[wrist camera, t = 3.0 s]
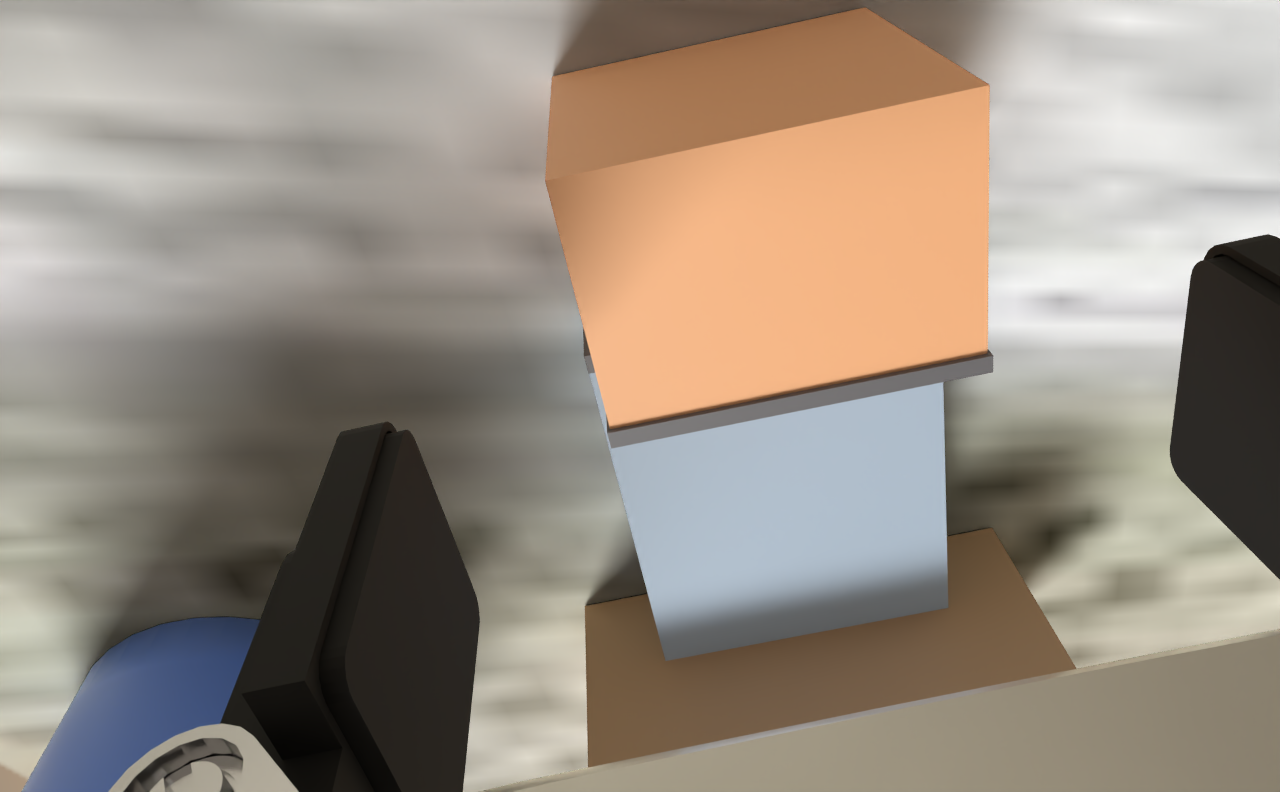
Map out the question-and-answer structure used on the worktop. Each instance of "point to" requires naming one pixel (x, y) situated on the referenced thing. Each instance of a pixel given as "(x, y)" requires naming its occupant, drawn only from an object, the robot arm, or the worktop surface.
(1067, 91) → the worktop surface
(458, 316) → the worktop surface
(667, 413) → the stub
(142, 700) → the water bottle
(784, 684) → the tan blue stepped block
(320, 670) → the robot arm
